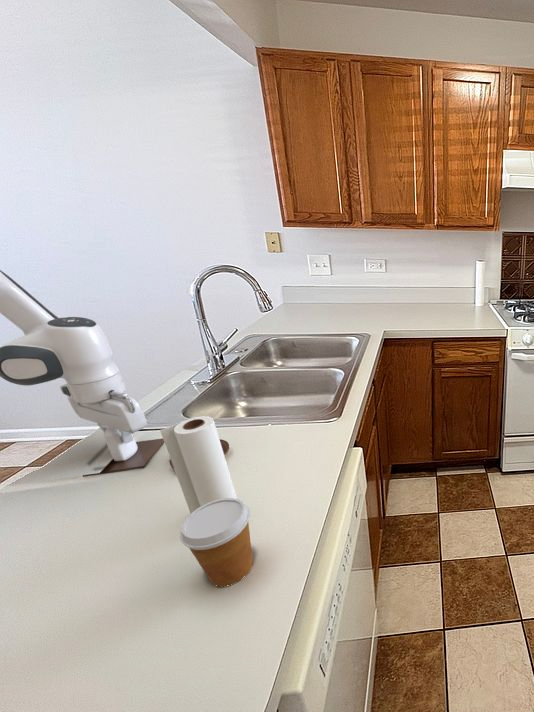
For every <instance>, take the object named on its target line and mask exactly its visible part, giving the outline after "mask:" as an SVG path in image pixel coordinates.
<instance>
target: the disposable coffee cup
mask: <svg viewBox="0 0 534 712" xmlns="http://www.w3.org/2000/svg"><path fill="white" fill-rule="evenodd" d="M250 515H251V512H250V508H249V506H247V504H245V503H244V502H243V501H242V500H240V499H238V498H237V499H235V498H224V499H219V500H215V501H212V502H209V503H207V504H205V505H203V506H201V507H199V508H198V509H196V510H195V511H194V512H192V513H190V514H189V515H188V516H187V517H186V518H185V519H184V521H183V523H182V524H181V530H180V535H179V539H180V543H182V545H184V546H185V547H187V548H188V549H189V550H190V552H191V553H192V555H193V557H194V558H195V559H196V561H197V563H198V565H199V566H200V567H201V569H202V570H203V572H204V573H205V575H206V577H207V578H208V580H209V581H210V583H211V582H212V583H213V584H214V585H217V586H226V587H228V586H227V585H230V586H232V585H231V584H233V583H235V582H237V581H239V580H240V581H242V580H243V579H244V578H245V577H246V576H248V574H250V572H251V570H252V568H253V566H254V560H253V553H252V552H253V551H252V542H251V533H250V525H249V519H250ZM249 571H250V572H249ZM244 576H245V577H244ZM243 577H244V578H243ZM242 578H243V579H242ZM241 579H242V580H241ZM240 581H239V582H240ZM212 583H211V584H212ZM237 583H238V582H237ZM213 584H212V585H213ZM235 584H236V583H235ZM214 585H213V586H214ZM233 585H234V584H233ZM217 586H216V587H217Z"/></svg>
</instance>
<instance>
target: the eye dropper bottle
mask: <svg viewBox="0 0 534 712" xmlns="http://www.w3.org/2000/svg"><path fill="white" fill-rule="evenodd" d="M107 427H108V426H107ZM120 436H121V432H119V430H118V429H115V428H112V427H108V428H107V429H106V431H105V433H104V432H103V438H104V440H105V443H106V445H107V447H108V449H109V452H110V454H111V456H112V459H114V461H124V460H127V459H128V458H130V457H131V456H133V455H134V454H135V453H136V451H137V449H138V447H137V444H136V442H137V441H136V440H135V437H134V433H132V436H133V441H131V442H129V443H123V442H121V439H120Z"/></svg>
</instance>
